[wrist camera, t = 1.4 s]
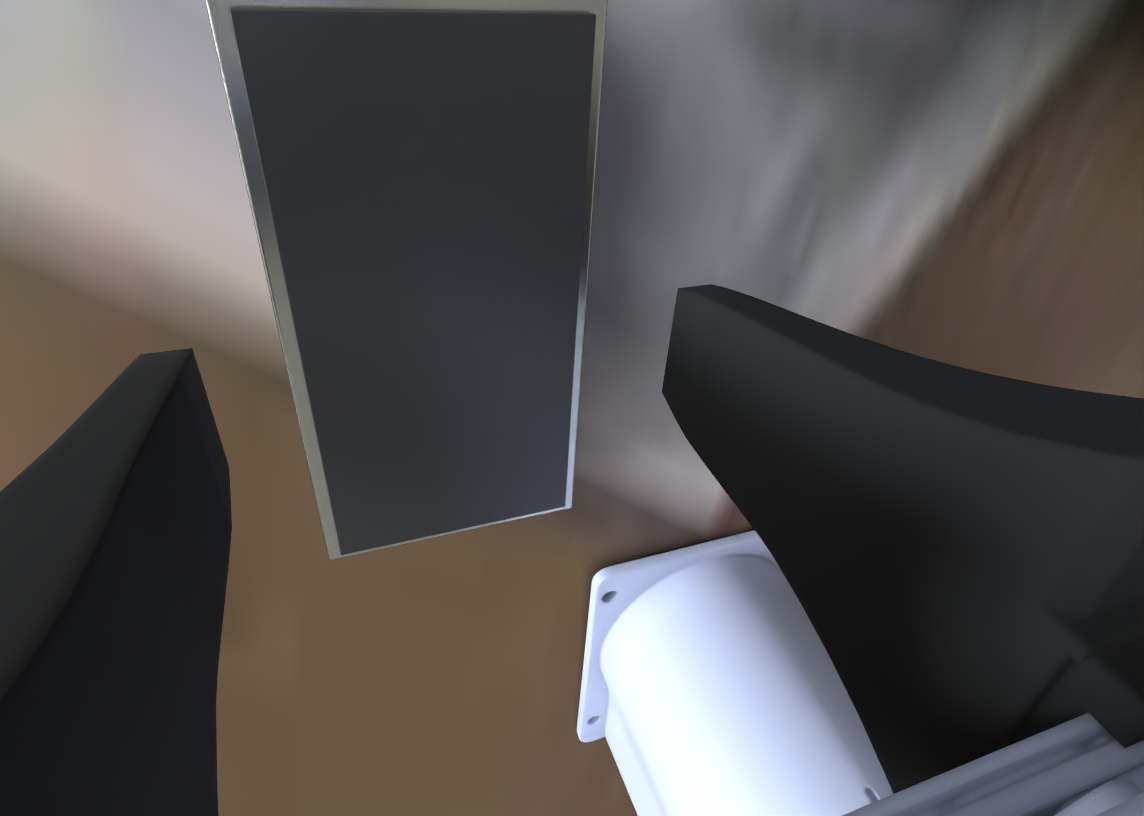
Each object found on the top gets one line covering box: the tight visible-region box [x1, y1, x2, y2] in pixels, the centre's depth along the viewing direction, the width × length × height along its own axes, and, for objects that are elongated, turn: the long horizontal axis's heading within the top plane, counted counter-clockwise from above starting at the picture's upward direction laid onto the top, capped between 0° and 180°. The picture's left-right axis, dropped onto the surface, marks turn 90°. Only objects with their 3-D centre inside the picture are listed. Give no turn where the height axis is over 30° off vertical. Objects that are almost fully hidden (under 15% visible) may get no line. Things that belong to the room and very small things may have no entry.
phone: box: [205, 0, 608, 560], centre depth 13 cm, size 10×5×3 cm, turn 178°
